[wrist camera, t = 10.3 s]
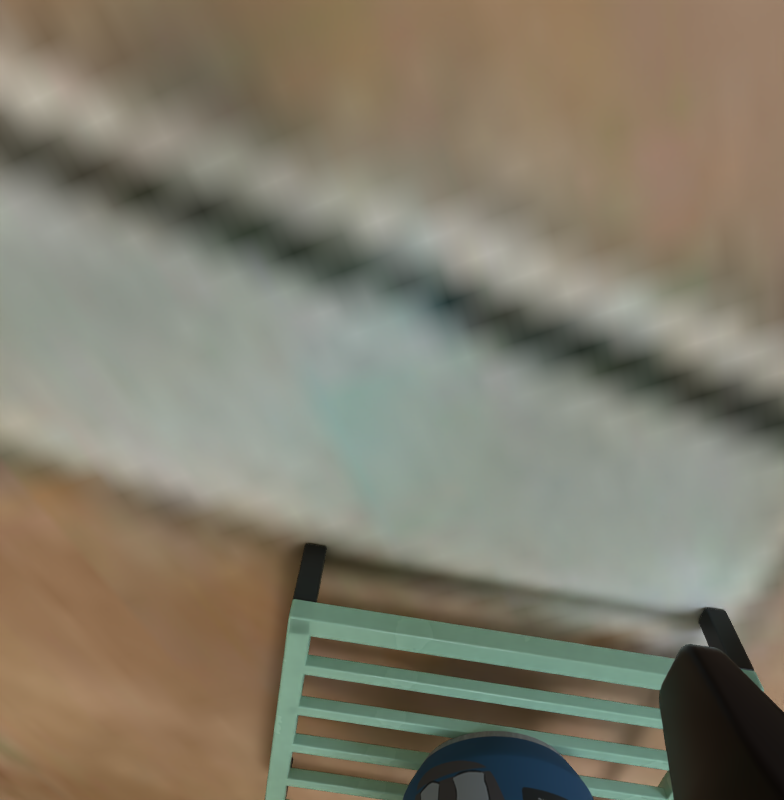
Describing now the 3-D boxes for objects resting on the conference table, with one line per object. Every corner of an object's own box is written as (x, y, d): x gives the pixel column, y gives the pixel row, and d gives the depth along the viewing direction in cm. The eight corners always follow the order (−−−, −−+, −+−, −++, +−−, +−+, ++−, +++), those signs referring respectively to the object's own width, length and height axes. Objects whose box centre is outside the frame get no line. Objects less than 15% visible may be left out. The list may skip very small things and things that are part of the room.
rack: (726, 610, 26) (765, 690, 23) (606, 812, 33) (623, 894, 30) (305, 542, 25) (288, 616, 22) (275, 764, 32) (258, 843, 29)
